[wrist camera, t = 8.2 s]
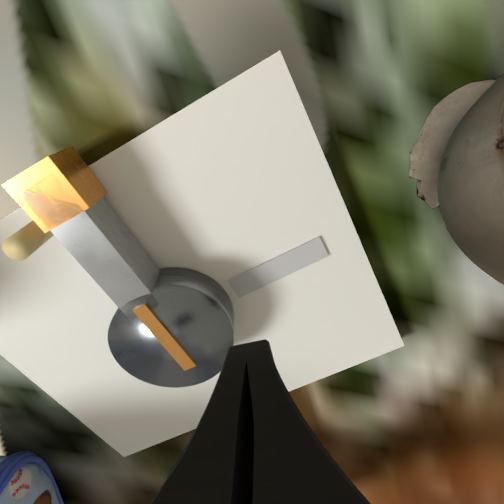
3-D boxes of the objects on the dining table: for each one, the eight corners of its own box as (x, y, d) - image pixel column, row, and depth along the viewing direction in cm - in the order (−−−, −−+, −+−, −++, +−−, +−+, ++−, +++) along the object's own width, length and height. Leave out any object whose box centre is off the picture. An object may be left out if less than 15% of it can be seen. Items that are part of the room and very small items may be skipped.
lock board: (398, 336, 24) (425, 379, 21) (127, 445, 29) (111, 497, 25) (277, 52, 16) (289, 44, 12) (-80, 267, 20) (-147, 307, 17)
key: (253, 331, 22) (255, 362, 20) (164, 370, 23) (155, 404, 21) (111, 122, 16) (88, 130, 14) (0, 191, 17) (-39, 209, 15)
